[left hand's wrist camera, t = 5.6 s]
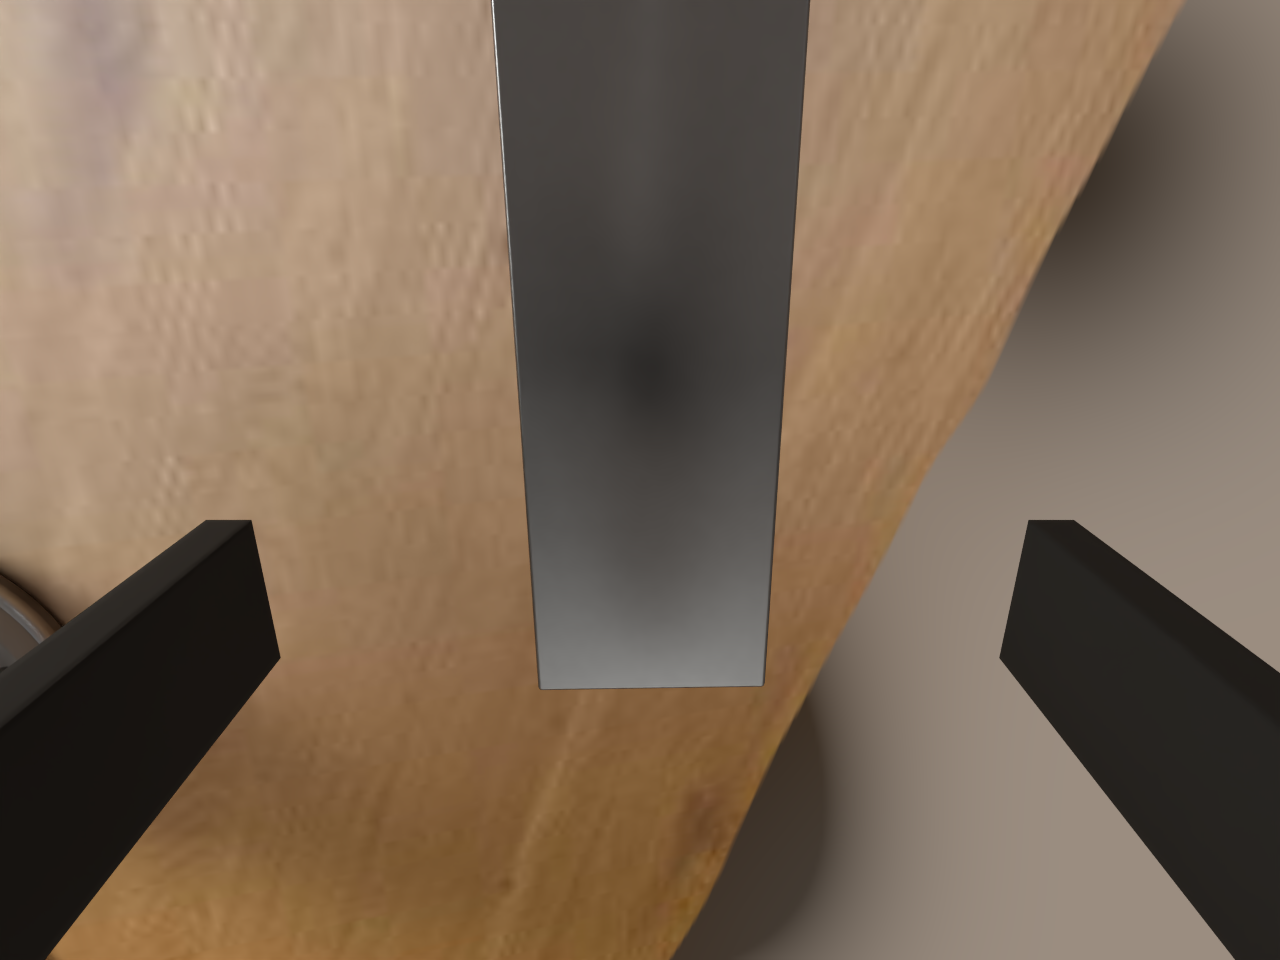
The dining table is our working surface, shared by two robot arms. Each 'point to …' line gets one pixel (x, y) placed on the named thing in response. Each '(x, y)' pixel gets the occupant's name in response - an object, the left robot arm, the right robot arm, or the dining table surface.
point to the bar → (650, 324)
